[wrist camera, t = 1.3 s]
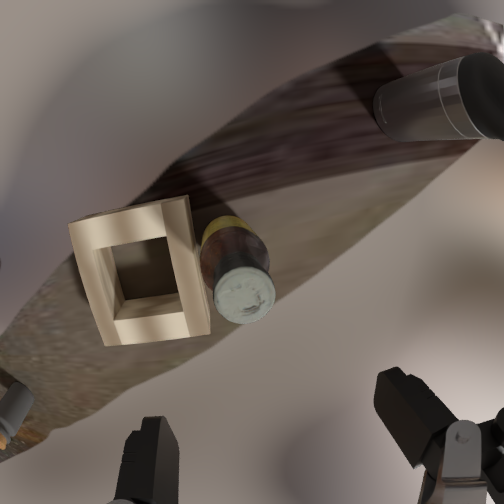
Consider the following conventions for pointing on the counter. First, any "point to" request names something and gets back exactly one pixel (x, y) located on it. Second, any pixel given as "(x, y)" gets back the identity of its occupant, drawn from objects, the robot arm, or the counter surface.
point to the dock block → (107, 281)
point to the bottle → (13, 411)
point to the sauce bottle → (236, 270)
